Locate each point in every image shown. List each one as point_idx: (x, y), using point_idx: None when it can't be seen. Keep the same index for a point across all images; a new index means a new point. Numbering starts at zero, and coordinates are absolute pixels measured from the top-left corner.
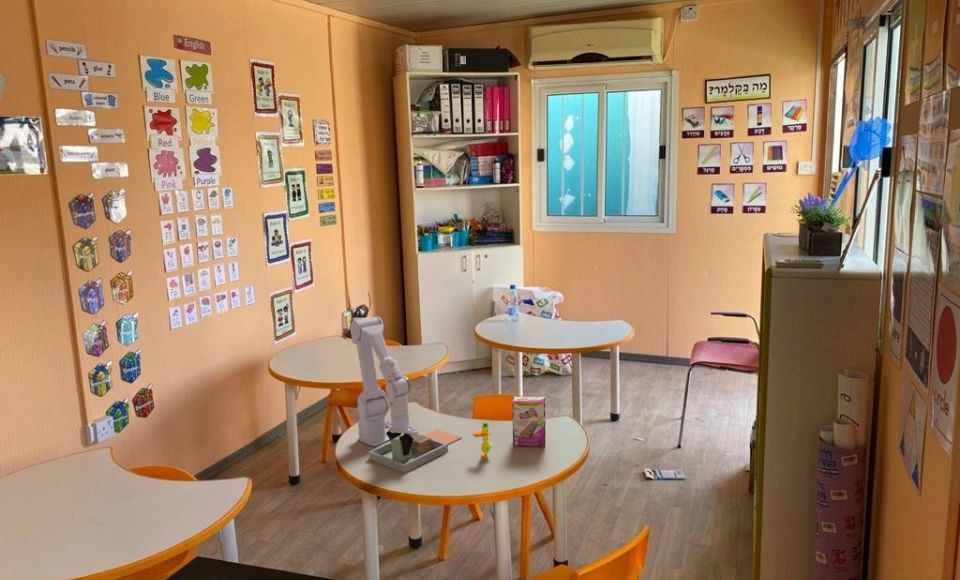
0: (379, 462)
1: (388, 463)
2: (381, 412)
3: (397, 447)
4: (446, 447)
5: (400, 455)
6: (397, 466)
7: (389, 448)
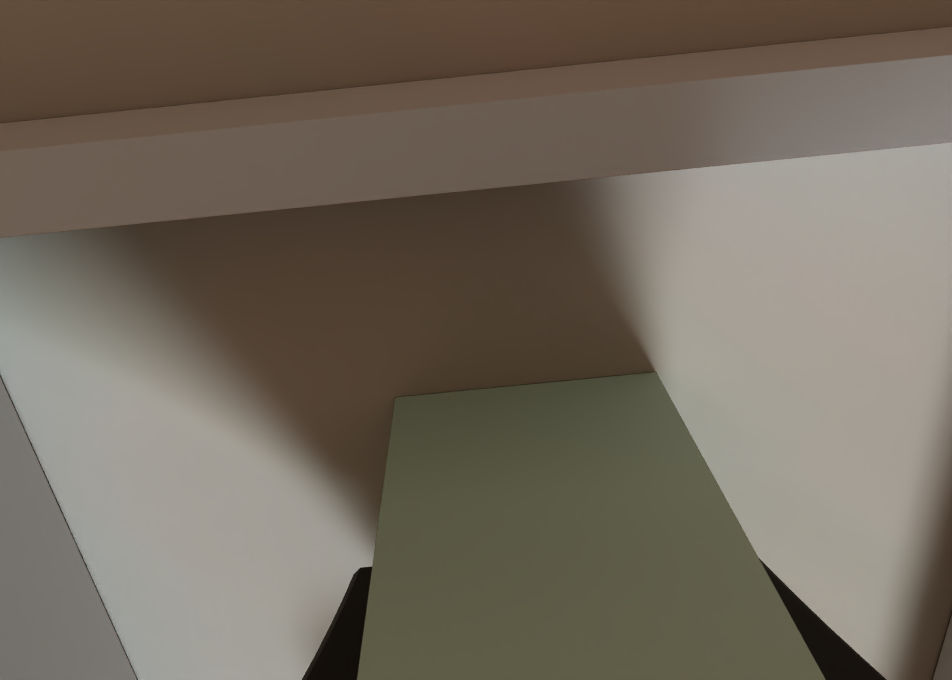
0: (776, 46)
1: (404, 93)
2: None
3: (489, 669)
4: None
5: (385, 505)
6: (8, 137)
7: None
